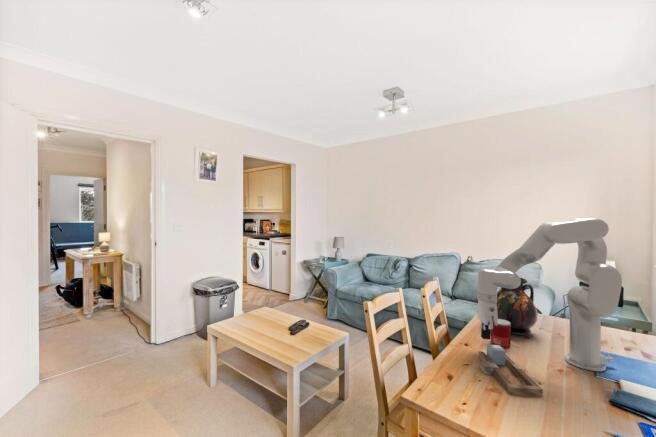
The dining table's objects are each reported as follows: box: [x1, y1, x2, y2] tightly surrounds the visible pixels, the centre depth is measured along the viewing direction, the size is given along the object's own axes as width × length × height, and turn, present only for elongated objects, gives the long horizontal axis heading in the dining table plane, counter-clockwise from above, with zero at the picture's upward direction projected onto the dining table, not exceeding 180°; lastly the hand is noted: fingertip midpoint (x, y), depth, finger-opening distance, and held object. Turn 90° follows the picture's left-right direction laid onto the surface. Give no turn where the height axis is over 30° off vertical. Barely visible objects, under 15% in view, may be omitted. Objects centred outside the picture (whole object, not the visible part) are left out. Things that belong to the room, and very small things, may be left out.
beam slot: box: [478, 350, 544, 398], centre depth 107 cm, size 13×26×3 cm, turn 173°
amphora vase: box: [496, 277, 538, 338], centre depth 148 cm, size 22×22×28 cm
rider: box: [486, 344, 506, 366], centre depth 116 cm, size 5×5×6 cm
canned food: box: [490, 319, 512, 349], centre depth 132 cm, size 8×8×11 cm
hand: (485, 338), depth 124 cm, fingers closed
